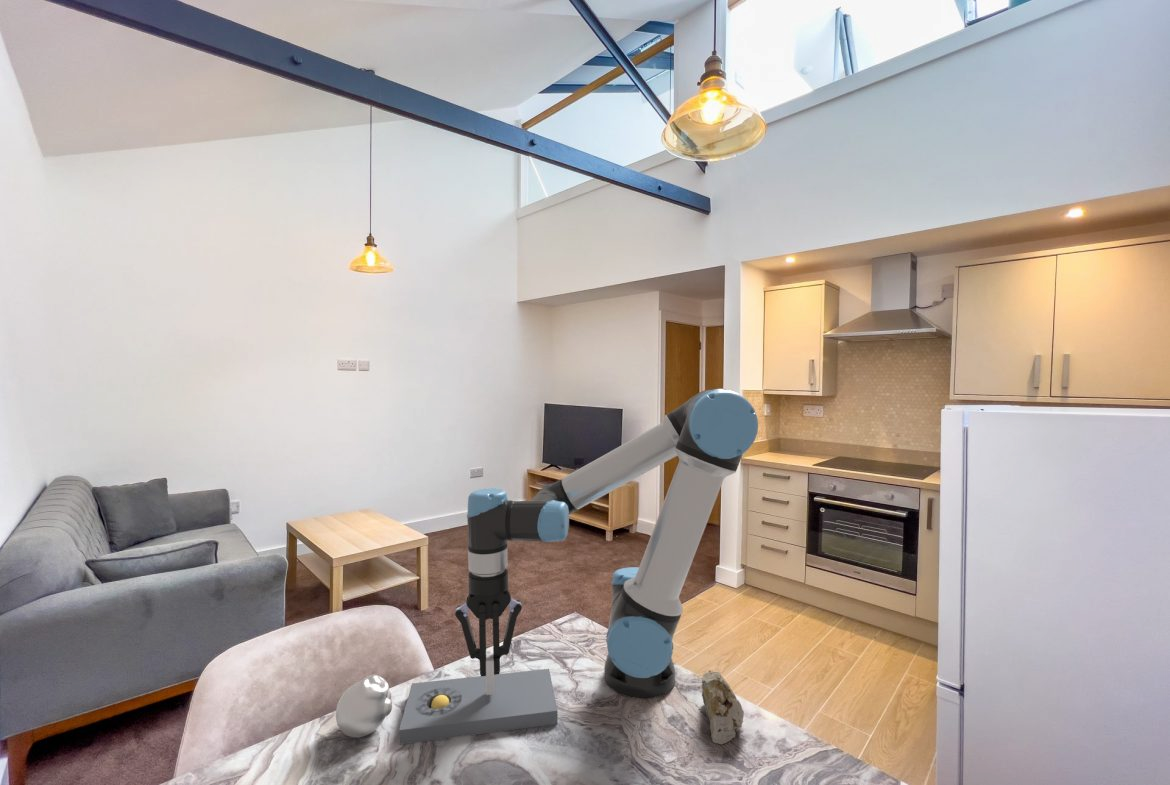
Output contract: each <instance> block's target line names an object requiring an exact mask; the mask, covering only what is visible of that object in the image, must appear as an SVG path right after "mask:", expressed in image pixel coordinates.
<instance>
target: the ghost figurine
mask: <svg viewBox="0 0 1170 785" xmlns="http://www.w3.org/2000/svg"><path fill="white" fill-rule="evenodd" d="M391 698H392V694H391V691H390V686H389V683H388V681H387V680H386V679H385V678H384V677H382V676H380V675H379V674H369V675H367V676H365V677H364V678H362V680H360V681H357V682H355V683H353V684H352V685H351V686H349V687H348V688H346V690H345V691H344V692H343V694H342V695H341V697H340V698H339V700H338V702H337V704H336V709H335V720H336V725H337V726H338V728H339V730H340V732H342V733H343V734H345V735H346V736H348V737H349V738H350V737H351V738H363V737H366V736H369V735H370V734H372V733H373V732H375V731H376V730H377V729H378V728H379V727H380V726H381V725H382V723H384V720H385V719H386V717H387V716H389V715H390V714H391V712H392V710H393V701H392V700H391Z"/></svg>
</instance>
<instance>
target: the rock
mask: <svg viewBox="0 0 1170 785" xmlns="http://www.w3.org/2000/svg"><path fill="white" fill-rule="evenodd" d="M701 687H702V693H701V696H702V702H703V705H704V709H705V714H706V716H707V718H708V720H709V730H710V733H711V734H710V736H711V739H712V740H711V741H712V742H713V743H714V744H718V745H723V744H726V743H729V742H731V741H733V738H736V733H737V732H738V731H739V729H741V728H742V726H743V725H742V724H743V723H744V717H745V716H744V710H743V707H742V704H741V702H740V700H739V699H738V698H737V697H736V694H735V693H734V692H733V690H732V689H731V686H730V685H729V683H728V682H727V680H726V679H725V678H724V677H723V675H722V674H721V671H713V670H710V669H709V670H708V672H705V673H703V675H702V677H701Z"/></svg>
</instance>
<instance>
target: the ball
mask: <svg viewBox="0 0 1170 785" xmlns="http://www.w3.org/2000/svg"><path fill="white" fill-rule="evenodd" d="M449 703H450V702H449V699H448V698H447V697H446V696H445V695H438V696H437V697H435V698H434V700H433V701H432V704H431V709H440V708H443V707H445V706H447V705H448V704H449Z"/></svg>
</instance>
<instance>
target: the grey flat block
mask: <svg viewBox="0 0 1170 785" xmlns="http://www.w3.org/2000/svg"><path fill="white" fill-rule="evenodd" d="M551 677H552V676H551V671H550V668H544V669H533V670H524V671H515V672H505V673H499V674H496V675H494V694H492V695H486V676H481V675H477V676H469V677H459V678H451V679H449V678H448V679H441V680H440V679H439V680H431V681H422V682H414V683H411V685H410V689H409V692H408V697H407V701H406V703H405V704H406V705H405V707H404V711H403V715H402V719H401V722H400V725H399V732H398V740H399V741H398V742H399V745H404V744H413V743H420V742H427V741H436V740H443V739H451V738H457V737H458V738H460V737H466V736H475V735H476V736H477V735H481V734H489V733H490V734H491V733H497V732H499V733H500V732H505V731H513V730H514V731H515V730H521V729H529V728H537V727H543V726H551V725H552V726H553V725H558V722H559V721H558V720H559V719H558V706H557V701H556V697H555V693H554V692H555V691H554V686H553V681H552V678H551ZM438 695H445V696H446V697H447V698H448V699H449V702H450V703H449V704H448V705H447V706H445V707H443V708H440V709H431V704H432V701H433V700H434V698H435V697H437V696H438Z"/></svg>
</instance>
